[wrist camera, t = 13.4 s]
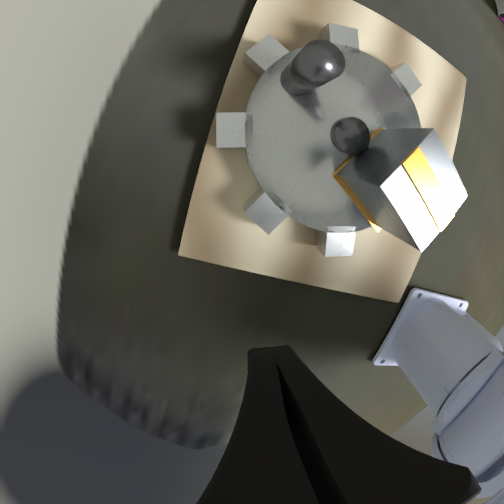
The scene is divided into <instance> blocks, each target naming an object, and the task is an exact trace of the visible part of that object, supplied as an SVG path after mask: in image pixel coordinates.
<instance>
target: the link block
mask: <svg viewBox="0 0 504 504" xmlns="http://www.w3.org/2000/svg"><path fill="white" fill-rule="evenodd" d="M336 175H337V176H338V177H339V178H340V179H341V181H342V182H343V183H344V184H345V186H346V187H347V188H348V189H349V191H350V192H351V193H352V194H353V196H354V197H355V198H356V200H357V201H358V202H359V203H360V205H361V206H362V207H363V209H364V210H365V211H366V213H367V214H368V215H369V217H370V218H371V219H372V221H373V222H374V224H375V225H376V226H378V227H380V228H381V229H383V230H385V231H387V232H388V233H390V234H392V235H394V236H395V237H397V238H399V239H401V240H402V241H404V242H406V243H407V244H409V245H411V246H412V247H414V248H416V249H417V250H419V251H421V252H422V251H423V250H424V249H425V248H426V247H427V246H428V244H429V243H430V242H431V241H432V240H433V239H434V238H435V236H436V235H437V234H438V233H439V232H441V231H442V230H443V229H444V228H445V227H446V225H447V224H448V223H449V222H450V221H451V219H452V218H453V217H454V216H455V214H454V213H455V212H456V211H457V210H458V208H459V207H460V206H461V204H462V203H463V202H464V200H465V199H466V198H467V196H468V195H467V193H466V191H465V188H464V186H463V184H462V181H461V179H460V177H459V175H458V173H457V170H456V168H455V166H454V164H453V162H452V160H451V158H450V156H449V154H448V152H447V150H446V148H445V146H444V145H443V143H442V141H441V139H440V137H439V135H438V134H437V132H436V130H435V128H396V129H382V130H381V131H380V132H379V133H378V134H377V135H376V136H375V137H374V138H373V139H372V140H371V141H370V143H369V145H368V147H367V149H366V150H365V151H364V152H362V153H360V154H356V155H355V156H354V157H353V158H352V159H351V160H350V161H349V162H348V163H347V164H346V165H345V166H344V167H343V168H342V169H341V170H340V171H339V172H338V173H337V174H336Z"/></svg>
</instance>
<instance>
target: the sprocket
mask: <svg viewBox="0 0 504 504" xmlns="http://www.w3.org/2000/svg"><path fill="white" fill-rule="evenodd" d="M320 38H321V40H313V41H310V42H309V43H307V44H306V45H305V46H304V47H301V48H298V49H296V50H293V51H291V52H289V51H288V50H287V49H286V48H285V47H284V46H283V45H281V44H280V43H279V42H278V41H277V40H276V39H275V38H274V37H272V36H271V35H270V34H269V35H268V36H266V37H265V38H264V39H262V40H261V41H260V42H258V43H257V44H256V45H254V46H253V47H252V48H250V49H249V50H248V51H247V52H245V54H244V57H243V62H244V63H245V64H246V65H247V66H248V67H249V68H251V69H252V70H253V71H254V72H255V73H256V74H257V75H258V76H259V77H260V79H259V81H258V82H257V84H256V86H255V88H254V89H253V91H252V93H251V95H250V97H249V100H248V102H247V105H246V108H245V112H227V113H216V148H244V151H245V156H246V159H247V162H248V165H249V168H250V170H251V172H252V174H253V176H254V178H255V180H256V182H257V183H258V185H259V186H260V189H259V190H258V191H257V192H256V193H255V194H254V195H253V196H252V197H251V198H250V199H249V200H248V201H247V202H246V203H245V204H244V205H243V206H242V208H243V210H244V212H245V213H246V214H247V215H248V216H249V217H250V218H251V219H252V220H253V221H254V222H255V223H256V224H257V225H258V226H259V227H260V228H261V229H263V230H264V231H265V232H266V233H267V234H268V235H269V234H270V233H271V232H272V231H273V230H274V229H275V228H276V227H277V226H278V225H279V224H280V223H281V222H282V221H283V220H284V219H285V218H286V217H287V216H290V217H291V218H293V219H294V220H295V221H297V222H299V223H301V224H303V225H305V226H307V227H310V228H313V229H316V230H318V239H317V249H318V250H319V251H320V252H321V253H322V254H323V255H324V256H325V257H332V256H353V248H354V240H355V232H356V231H360V230H364V229H367V228H370V227H373V229H374V230H375V231H376V232H377V233H378V232H379V231H380V230H381V228H380V227H378V226H376V225H375V224H374V222H373V221H372V219H371V218H370V217H369V215H368V214H367V213H366V211H365V210H364V209H363V207H362V206H361V205H360V203H359V202H358V201H357V200H356V198H355V197H354V196H353V194H352V193H351V192H350V191H349V189H348V188H347V187H346V186H345V184H344V183H343V182H342V181H341V179H340V178H339V177H338V176H337V175H336V174H337V173H338V172H339V171H340V170H341V169H342V168H343V167H344V166H345V165H346V164H347V163H348V162H349V161H350V160H351V159H352V158H353V157H354V156H355V155H356V154H360V153H362V152H364V151H365V150H366V149H367V147H368V145H369V143H370V141H371V140H372V139H373V138H374V137H375V136H376V135H377V134H378V133H379V132H380V131H381V130H382V129H396V128H421V123H420V119H419V115H418V112H417V109H416V107H415V104H414V102H413V100H412V98H411V95H412V94H413V93H415V92H416V91H417V90H418V89H419V88H420V87H421V86H422V84H421V83H420V81H419V80H418V78H417V77H416V75H415V74H414V73H413V71H412V70H411V68H410V67H409V66H408V64H407V63H406V62H404V63H401V64H398V65H396V66H393V67H392V68H391V69H389V68H388V67H387V66H386V65H385V64H383V63H382V62H381V61H379V60H378V59H376V58H375V57H373V56H371V55H370V54H368V53H366V52H363V51H361V50H359V39H358V29H355V28H351V27H347V26H343V25H338V24H334V23H328V24H327V25H326V26H325V27H324V28H323V29H322V30H321V31H320Z"/></svg>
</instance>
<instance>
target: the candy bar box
mask: <svg viewBox="0 0 504 504" xmlns="http://www.w3.org/2000/svg"><path fill="white" fill-rule="evenodd" d="M494 2H495V6H496V9H497V13H498V17H499V18H500V19H501V20H502V21H503V22H504V0H494Z"/></svg>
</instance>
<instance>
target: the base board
mask: <svg viewBox="0 0 504 504" xmlns="http://www.w3.org/2000/svg"><path fill="white" fill-rule="evenodd" d="M328 23H334V24H338V25H343V26H347V27H351V28H355V29H358V39H359V50H361V51H363V52H366V53H368V54H370V55H371V56H373V57H375V58H376V59H378V60H379V61H381V62H382V63H383V64H385V65H386V66H387V67H388V68H389V69H391V68H392V67H393V66H396V65H398V64H401V63H404V62H406V63H407V64H408V66H409V67H410V68H411V70H412V71H413V73H414V74H415V75H416V77H417V78H418V80H419V81H420V83H421V84H422V86H421V87H420V88H419V89H418V90H417V91H416V92H415V93H413V94H412V95H411V98H412V100H413V102H414V104H415V107H416V109H417V112H418V115H419V119H420V123H421V128H435V130H436V132H437V134H438V135H439V137H440V139H441V141H442V143H443V145H444V146H445V148H446V150H447V152H448V154H449V156H450V158H451V160H452V158H453V154H454V149H455V145H456V140H457V136H458V131H459V126H460V120H461V114H462V108H463V102H464V95H465V87H466V77H465V76H463V75H462V74H461V73H460V72H459V71H458V70H457V69H456V68H454V67H453V66H452V65H451V64H450V63H448V62H447V61H446V60H445V59H444V58H442V57H441V56H440V55H439V54H437V53H436V52H435V51H433V50H432V49H431V48H429V47H428V46H427V45H425V44H424V43H423V42H421V41H420V40H418V39H417V38H416V37H414V36H413V35H411V34H410V33H408V32H407V31H405V30H404V29H402V28H401V27H399V26H397V25H396V24H394V23H393V22H391V21H389V20H388V19H386V18H384V17H383V16H381V15H379V14H377V13H376V12H374V11H372V10H370V9H368V8H366V7H364V6H362V5H361V4H359V3H357V2H355V1H353V0H257V2H256V4H255V6H254V9H253V11H252V14H251V16H250V18H249V21H248V23H247V26H246V28H245V31H244V33H243V36H242V38H241V41H240V44H239V46H238V49H237V52H236V54H235V57H234V60H233V62H232V65H231V68H230V71H229V74H228V76H227V79H226V82H225V85H224V88H223V91H222V94H221V97H220V100H219V103H218V106H217V109H216V112H215V116H214V119H213V122H212V125H211V129H210V132H209V135H208V139H207V142H206V145H205V149H204V152H203V156H202V159H201V163H200V167H199V170H198V174H197V178H196V182H195V185H194V189H193V193H192V197H191V201H190V205H189V209H188V213H187V217H186V222H185V226H184V230H183V235H182V239H181V244H180V248H179V253H178V255H180V256H184V257H188V258H192V259H196V260H201V261H205V262H209V263H213V264H218V265H222V266H226V267H231V268H235V269H240V270H244V271H248V272H253V273H257V274H262V275H266V276H271V277H275V278H280V279H284V280H289V281H294V282H298V283H303V284H308V285H312V286H317V287H322V288H326V289H331V290H336V291H341V292H346V293H351V294H355V295H360V296H365V297H370V298H375V299H380V300H385V301H390V302H395V303H399V301H400V299H401V297H402V295H403V293H404V291H405V289H406V287H407V285H408V282H409V280H410V278H411V276H412V274H413V271H414V269H415V267H416V264H417V262H418V260H419V257H420V255H421V253H422V252H421V251H419V250H417V249H416V248H414V247H412V246H411V245H409V244H407V243H406V242H404V241H402V240H401V239H399V238H397V237H395V236H394V235H392V234H390V233H388V232H387V231H385V230H383V229H381V230H380V231H379V232H378V233H377V232H376V231H375V230H374V229H373V227H370V228H367V229H364V230H360V231H356V232H355V240H354V248H353V256H332V257H325V256H324V255H323V254H322V253H321V252H320V251H319V250H318V249H317V239H318V230H316V229H313V228H310V227H307V226H305V225H303V224H301V223H299V222H297V221H295V220H294V219H293V218H291V217H290V216H287V217H286V218H285V219H284V220H283V221H282V222H281V223H280V224H279V225H278V226H277V227H276V228H275V229H274V230H273V231H272V232H271V233H270V234H269V235H268V234H267V233H266V232H265V231H264V230H263V229H261V228H260V227H259V226H258V225H257V224H256V223H255V222H254V221H253V220H252V219H251V218H250V217H249V216H248V215H247V214H246V213H245V212H244V210H243V208H242V206H243V205H244V204H245V203H246V202H247V201H248V200H249V199H250V198H251V197H252V196H253V195H254V194H255V193H256V192H257V191H258V190H259V189H260V186H259V185H258V183H257V182H256V180H255V178H254V176H253V174H252V172H251V170H250V168H249V165H248V162H247V159H246V156H245V151H244V148H216V113H227V112H245V108H246V105H247V102H248V100H249V97H250V95H251V93H252V91H253V89H254V88H255V86H256V84H257V82H258V81H259V79H260V77H259V76H258V75H257V74H256V73H255V72H254V71H253V70H252V69H251V68H249V67H248V66H247V65H246V64H245V63H244V62H243V57H244V54H245V52H247V51H248V50H249V49H250V48H252V47H253V46H254V45H256V44H257V43H258V42H260V41H261V40H262V39H264V38H265V37H266V36H268V35H269V34H270V35H271V36H272V37H274V38H275V39H276V40H277V41H278V42H279V43H280V44H281V45H283V46H284V47H285V48H286V49H287V50H288V51H289V52H291V51H293V50H296V49H298V48H301V47H304V46H305V45H306V44H307V43H309V42H310V41H313V40H321V38H320V31H321V30H322V29H323V28H324V27H325V26H326V25H327V24H328Z"/></svg>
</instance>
